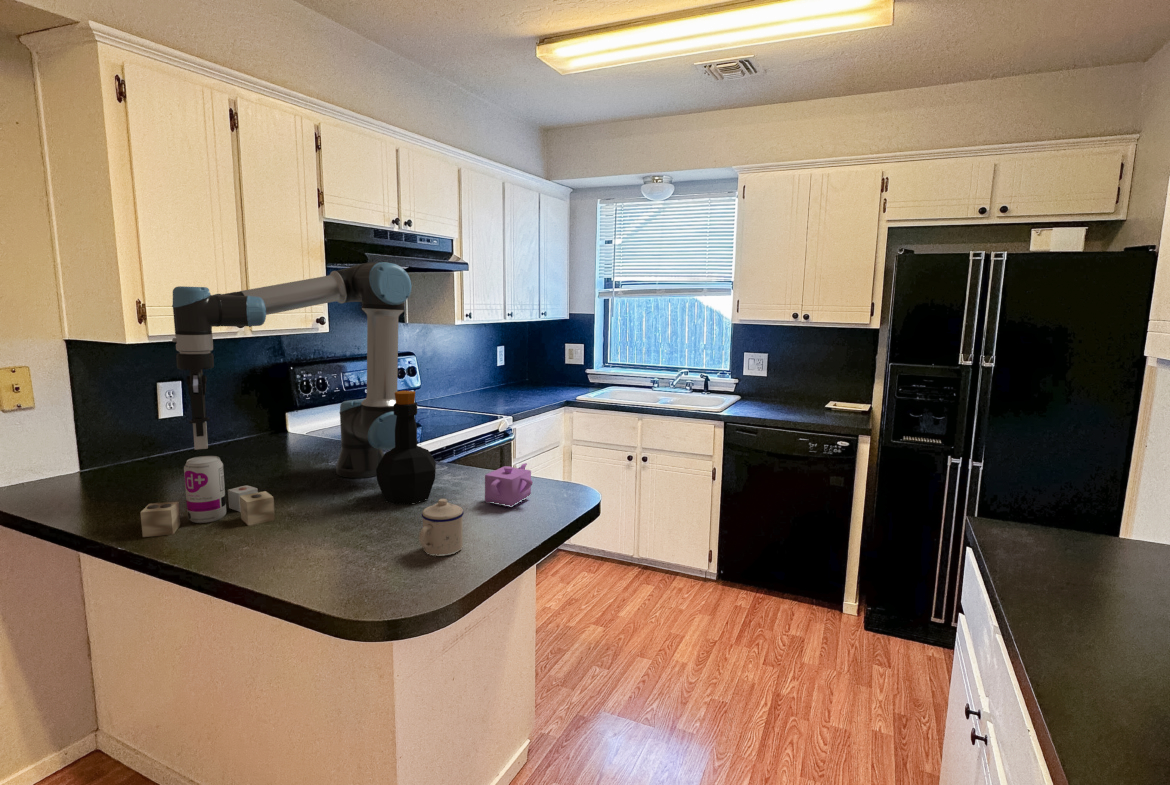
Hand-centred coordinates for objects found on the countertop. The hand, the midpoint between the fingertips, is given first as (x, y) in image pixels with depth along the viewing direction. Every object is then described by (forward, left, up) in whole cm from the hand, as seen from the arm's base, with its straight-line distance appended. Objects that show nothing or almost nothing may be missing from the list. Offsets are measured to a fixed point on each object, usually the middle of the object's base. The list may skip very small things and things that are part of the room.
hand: (201, 448), depth 152 cm
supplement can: (0, 0, -18) cm, 18 cm away
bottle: (-48, +5, -18) cm, 52 cm away
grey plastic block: (-8, -5, -18) cm, 20 cm away
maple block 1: (+9, +5, -18) cm, 21 cm away
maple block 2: (-11, +6, -18) cm, 22 cm away
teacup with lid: (-46, +44, -18) cm, 66 cm away
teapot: (-73, +20, -18) cm, 78 cm away
